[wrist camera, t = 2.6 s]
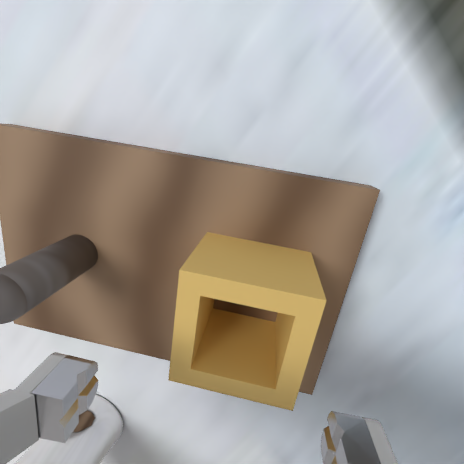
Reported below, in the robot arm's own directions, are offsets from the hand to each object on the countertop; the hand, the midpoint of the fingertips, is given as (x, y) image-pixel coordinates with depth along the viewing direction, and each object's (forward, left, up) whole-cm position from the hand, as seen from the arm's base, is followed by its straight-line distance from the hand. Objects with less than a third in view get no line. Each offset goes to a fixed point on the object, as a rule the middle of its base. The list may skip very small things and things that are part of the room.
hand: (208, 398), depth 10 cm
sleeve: (-1, 0, -8) cm, 8 cm away
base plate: (+5, 0, -9) cm, 11 cm away
